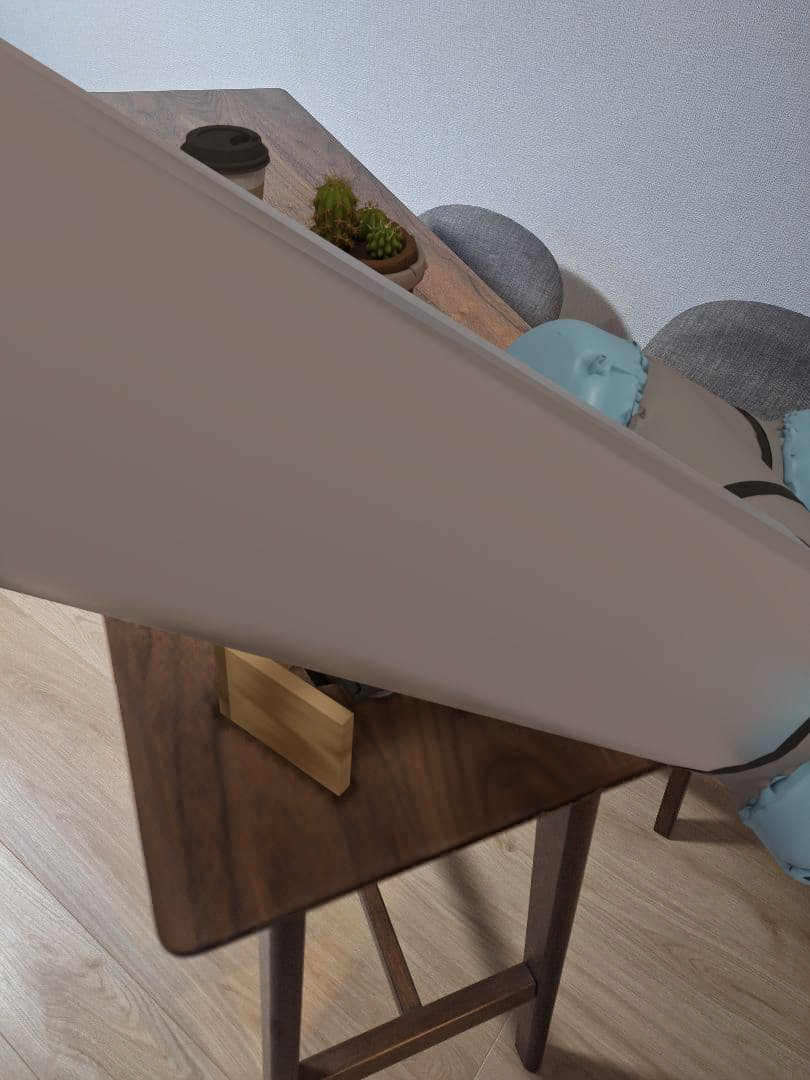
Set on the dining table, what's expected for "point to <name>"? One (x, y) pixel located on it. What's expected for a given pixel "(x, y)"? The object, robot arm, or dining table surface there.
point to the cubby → (286, 715)
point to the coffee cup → (231, 154)
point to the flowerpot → (366, 233)
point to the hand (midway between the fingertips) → (369, 612)
